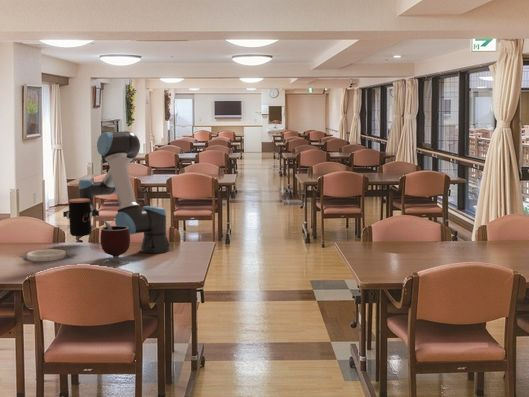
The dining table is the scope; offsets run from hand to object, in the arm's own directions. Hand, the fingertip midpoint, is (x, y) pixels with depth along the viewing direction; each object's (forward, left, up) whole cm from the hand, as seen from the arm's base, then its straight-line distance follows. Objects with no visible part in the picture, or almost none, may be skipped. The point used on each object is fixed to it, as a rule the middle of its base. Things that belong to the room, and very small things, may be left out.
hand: (79, 216), depth 371 cm
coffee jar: (+3, -2, -10) cm, 11 cm away
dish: (+1, +17, -19) cm, 26 cm away
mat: (+1, +17, -20) cm, 26 cm away
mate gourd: (-30, -5, -20) cm, 37 cm away
